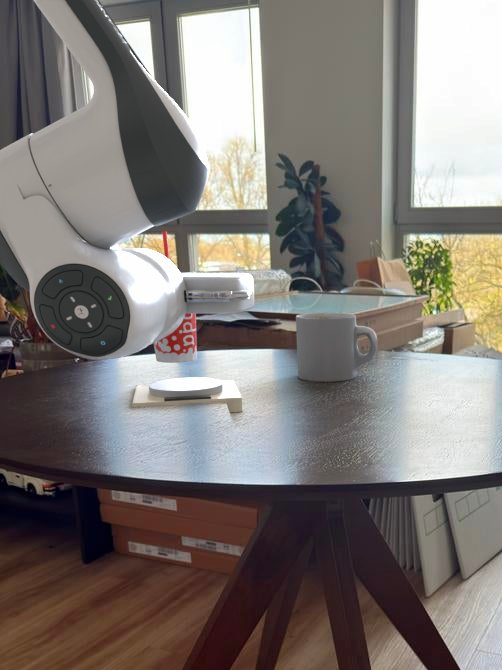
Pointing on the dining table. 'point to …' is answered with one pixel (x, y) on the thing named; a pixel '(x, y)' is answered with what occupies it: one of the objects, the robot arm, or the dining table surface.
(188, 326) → the beverage cup
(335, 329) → the coffee mug
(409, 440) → the dining table surface
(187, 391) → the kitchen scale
